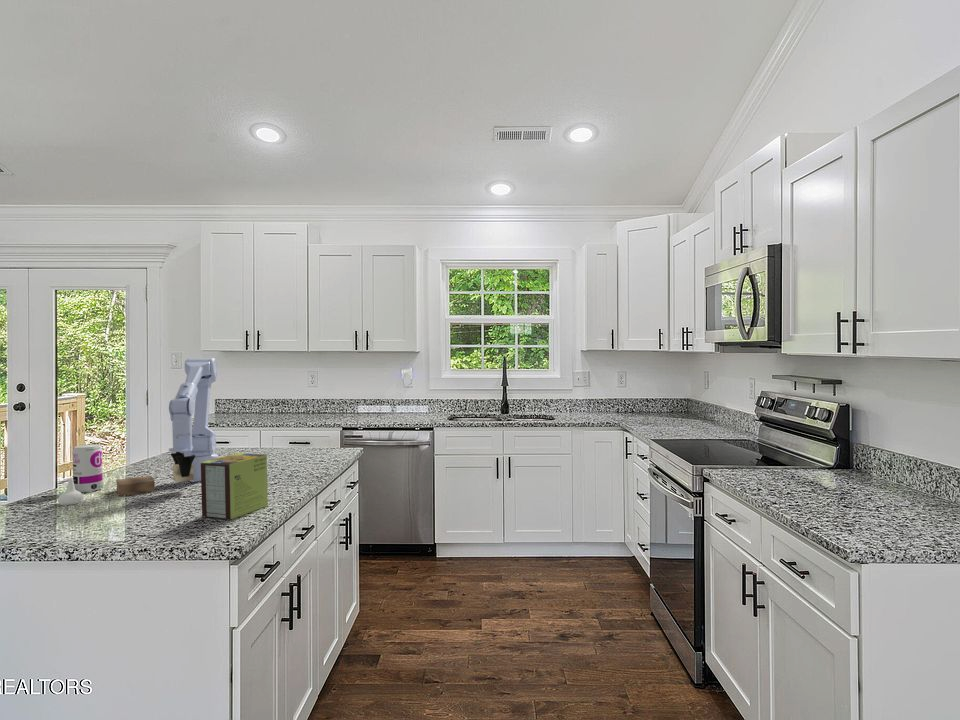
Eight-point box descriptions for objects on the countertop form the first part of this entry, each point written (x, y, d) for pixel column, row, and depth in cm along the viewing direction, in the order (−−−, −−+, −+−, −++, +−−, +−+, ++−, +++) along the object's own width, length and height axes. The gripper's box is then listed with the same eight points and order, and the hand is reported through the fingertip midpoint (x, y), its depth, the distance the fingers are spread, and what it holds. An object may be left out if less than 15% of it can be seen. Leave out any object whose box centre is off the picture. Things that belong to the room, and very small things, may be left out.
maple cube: (189, 477, 193) (189, 462, 193) (193, 479, 189) (193, 464, 189) (173, 479, 190) (172, 464, 190) (176, 482, 186) (176, 466, 186)
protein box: (268, 505, 171) (267, 454, 171) (230, 520, 157) (229, 464, 156) (240, 503, 174) (239, 452, 174) (200, 517, 160) (199, 461, 160)
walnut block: (150, 487, 198) (150, 475, 198) (154, 492, 190) (154, 480, 190) (116, 491, 192) (116, 479, 192) (119, 497, 184) (118, 485, 184)
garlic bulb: (69, 508, 173) (70, 482, 173) (52, 505, 174) (53, 479, 174) (87, 502, 179) (89, 477, 179) (71, 500, 180) (72, 474, 180)
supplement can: (108, 487, 197) (107, 444, 196) (90, 493, 188) (88, 448, 188) (86, 487, 197) (85, 443, 197) (67, 493, 189) (66, 448, 189)
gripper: (164, 433, 192) (165, 473, 193) (173, 438, 181) (174, 480, 181) (187, 430, 197) (188, 470, 197) (198, 435, 185) (198, 477, 186)
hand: (183, 475), depth 189 cm, fingers closed on maple cube, 5 cm apart
